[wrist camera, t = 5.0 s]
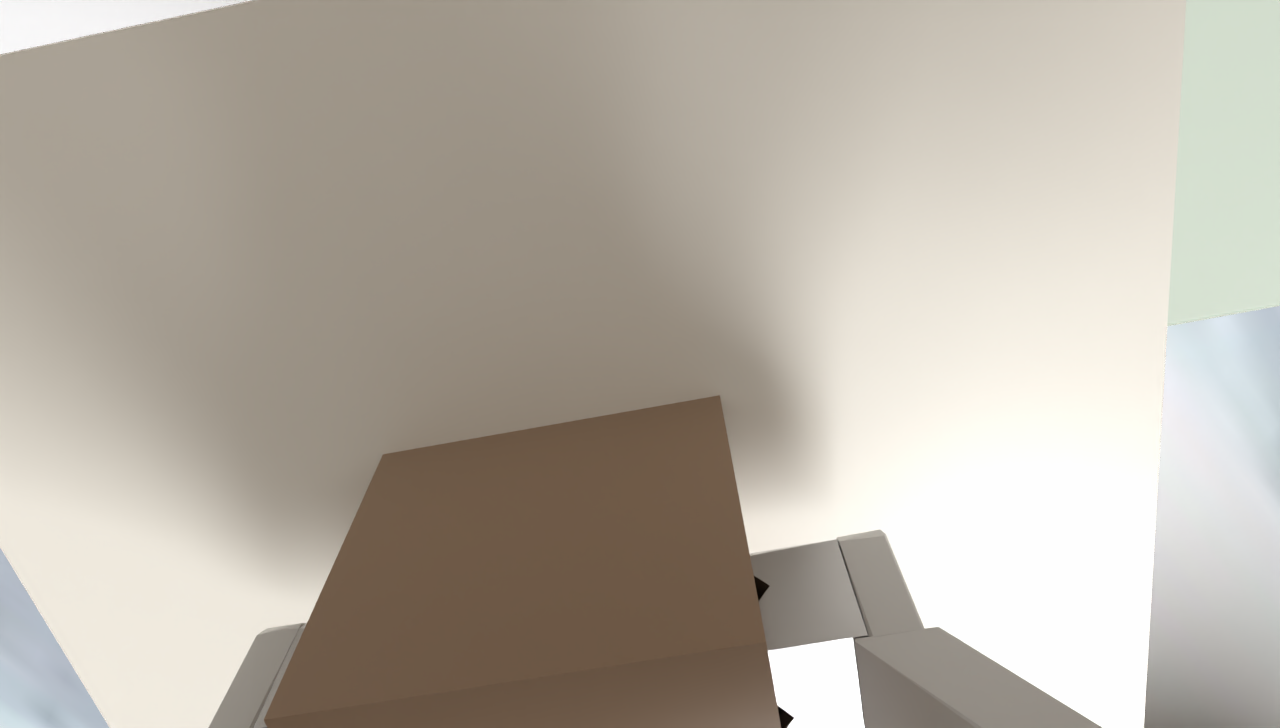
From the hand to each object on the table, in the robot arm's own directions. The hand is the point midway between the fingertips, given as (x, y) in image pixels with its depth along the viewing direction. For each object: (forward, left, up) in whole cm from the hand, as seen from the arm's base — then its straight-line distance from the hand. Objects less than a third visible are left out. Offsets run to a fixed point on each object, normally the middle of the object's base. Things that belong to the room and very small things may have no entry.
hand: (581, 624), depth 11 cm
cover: (0, 0, -2) cm, 2 cm away
